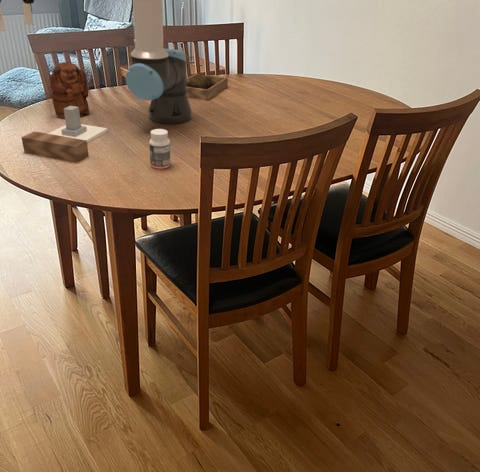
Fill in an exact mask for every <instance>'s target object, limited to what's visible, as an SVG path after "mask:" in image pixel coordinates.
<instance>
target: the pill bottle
mask: <svg viewBox="0 0 480 472" xmlns="http://www.w3.org/2000/svg"><path fill="white" fill-rule="evenodd" d="M168 136H169V133H168V130H166V129H164V128H155V129H152V130H150V137H151V138H150V140H149V142H148V143H149V159H150V166H151V167H152V168H153V169H162V170H163V169H167V168H169V167H170V166H171V165H172V159H171V158H172V157H171V141H170V139H169V138H168Z"/></svg>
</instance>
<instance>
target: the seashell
mask: <svg viewBox="0 0 480 472" xmlns="http://www.w3.org/2000/svg"><path fill="white" fill-rule="evenodd" d="M196 74H197V75H196V76H194V77H193V78H191V79H188V80H186V87H192V88H200V89H209V88H210V87H212V86H213V85H215V83H214V82H213V81H212V80H211V79H210V78H209V77H207V76H206V74H200V73H199V74H198V73H196Z"/></svg>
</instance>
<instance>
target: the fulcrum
mask: <svg viewBox="0 0 480 472" xmlns="http://www.w3.org/2000/svg"><path fill="white" fill-rule="evenodd" d="M64 115H65V119H64V121H65V122H64V123H65V124H64V125H62V126H61V127H58V128H56V129H54V130H52V131H50V132H48V133H47V134H52V135H58V136H64V137H70V138H75V139H81V140H87V144H88V143H90V142H92V141H94V140H95V139H97V138H98V137H100V136H102V135H104V134H106V133H107V132H108V131H109V130H108V127H102V126H101V127H100V126H97V125H95V126H94V125H91V124H90V125H88V124H83V123H82V122H81V117H80V114H79V107H75V106H69V107H66V108H64Z"/></svg>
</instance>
